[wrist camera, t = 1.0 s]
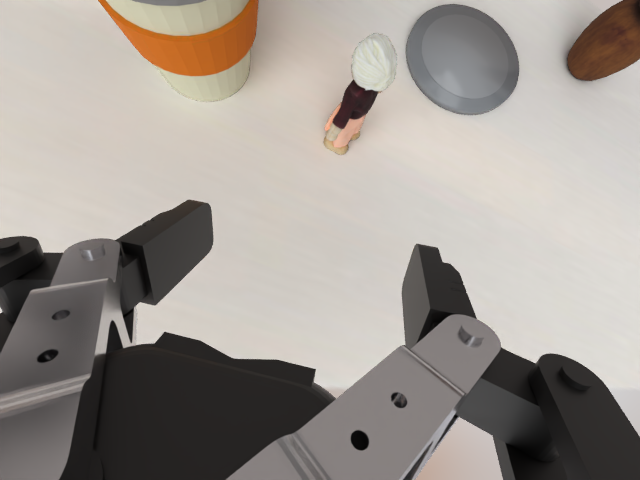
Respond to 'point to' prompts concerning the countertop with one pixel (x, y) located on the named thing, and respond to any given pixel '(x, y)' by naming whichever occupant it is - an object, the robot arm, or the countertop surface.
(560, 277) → the countertop surface
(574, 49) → the wooden figurine
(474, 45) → the slate coaster
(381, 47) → the grandmother figurine
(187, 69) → the reusable coffee cup
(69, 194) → the countertop surface
